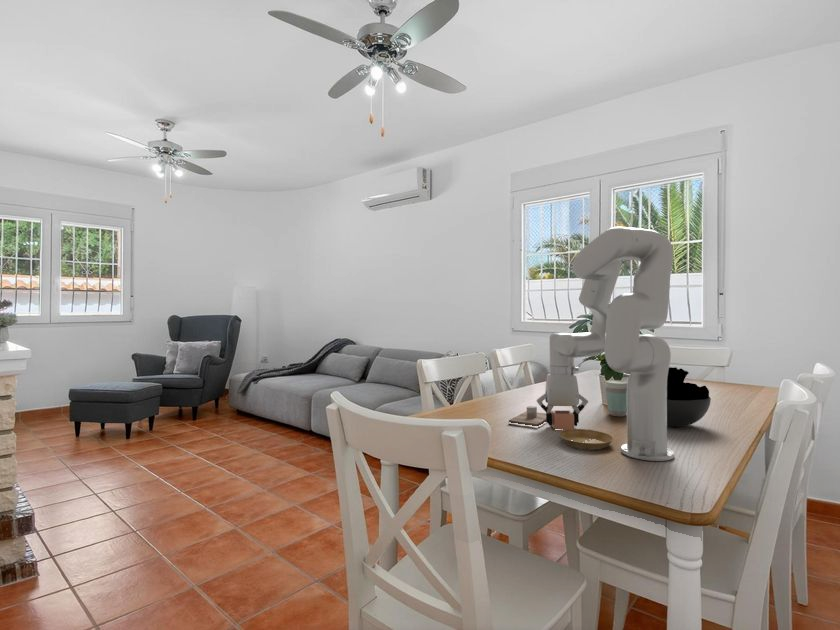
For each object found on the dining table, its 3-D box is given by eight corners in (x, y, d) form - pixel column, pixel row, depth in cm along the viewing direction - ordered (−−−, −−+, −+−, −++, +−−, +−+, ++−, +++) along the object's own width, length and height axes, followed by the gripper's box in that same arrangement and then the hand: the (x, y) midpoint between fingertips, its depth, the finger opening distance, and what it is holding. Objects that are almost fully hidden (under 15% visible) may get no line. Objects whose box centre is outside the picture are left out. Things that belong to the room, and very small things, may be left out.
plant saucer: (618, 442, 132) (618, 433, 132) (607, 456, 120) (607, 446, 120) (567, 435, 140) (567, 426, 140) (551, 447, 128) (551, 437, 128)
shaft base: (537, 428, 147) (537, 413, 147) (508, 424, 153) (508, 409, 153) (553, 418, 161) (553, 404, 161) (526, 415, 166) (526, 401, 166)
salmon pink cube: (574, 430, 145) (574, 412, 145) (555, 430, 145) (554, 412, 145) (569, 425, 151) (569, 408, 151) (551, 425, 151) (551, 408, 151)
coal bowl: (691, 418, 158) (691, 364, 158) (724, 434, 138) (723, 372, 138) (631, 418, 160) (631, 364, 160) (655, 433, 140) (655, 372, 140)
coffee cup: (634, 417, 161) (634, 383, 161) (610, 417, 161) (609, 383, 161) (624, 411, 170) (623, 379, 169) (601, 412, 170) (600, 380, 170)
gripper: (586, 369, 151) (586, 422, 151) (532, 369, 152) (533, 421, 152) (592, 372, 143) (593, 428, 143) (536, 372, 145) (537, 427, 145)
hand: (562, 424), depth 148 cm, fingers open, 7 cm apart
